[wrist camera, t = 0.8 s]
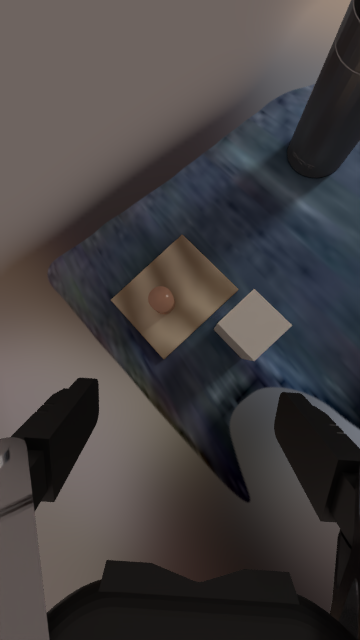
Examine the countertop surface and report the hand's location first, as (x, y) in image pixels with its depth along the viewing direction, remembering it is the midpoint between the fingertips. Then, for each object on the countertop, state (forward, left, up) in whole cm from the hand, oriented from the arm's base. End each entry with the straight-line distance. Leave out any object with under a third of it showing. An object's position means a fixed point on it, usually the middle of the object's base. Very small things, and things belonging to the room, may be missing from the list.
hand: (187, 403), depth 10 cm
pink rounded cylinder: (-3, -11, -25) cm, 27 cm away
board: (-5, -11, -26) cm, 29 cm away
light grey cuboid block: (-9, +1, -26) cm, 28 cm away
